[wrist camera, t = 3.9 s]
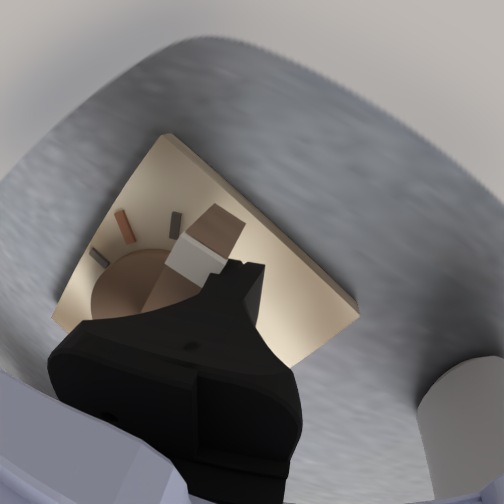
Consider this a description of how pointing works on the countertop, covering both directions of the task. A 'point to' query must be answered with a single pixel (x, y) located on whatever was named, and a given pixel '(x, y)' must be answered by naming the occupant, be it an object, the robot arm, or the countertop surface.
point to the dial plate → (246, 249)
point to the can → (464, 427)
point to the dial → (167, 268)
